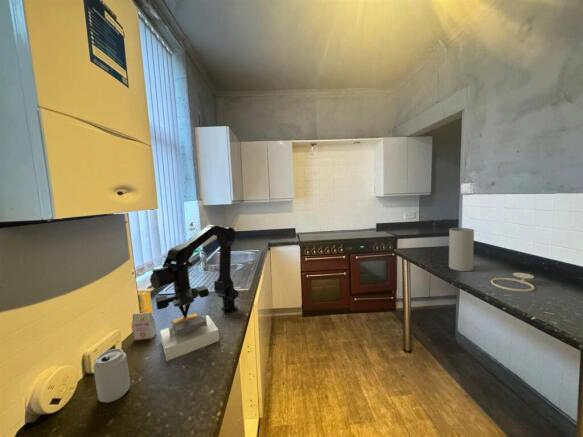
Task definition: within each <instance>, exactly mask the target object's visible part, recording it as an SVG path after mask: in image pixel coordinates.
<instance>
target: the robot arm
mask: <svg viewBox="0 0 583 437" xmlns="http://www.w3.org/2000/svg"><path fill="white" fill-rule="evenodd" d="M213 236H216V241H217V243H218V245H219V274H218V275H219V277H218V279H217V280H215V281H214V287H213V290H214V292H215V294H217V297H218V298H221V299H222V307H220V309H221V311H222V312H223V313H224V314H228V313H230V312H235V311H237V310H239V308H238V306H237V305H236V299H237V298H238V297H239V294H240V293H239V291H238V290H236V289H235V288H234V287H235V286H234V281H233V279H232V278H231V261H232V260H231V258H232V257H231V256H232V245H233V243H234V242H235V238H236V231H235V229H234V228H233V227H231V226H230V227H227V226H225V227H224V226H219V225H216V224H207V225H206V226H205V227H204V228H203V229H202V230H201V231H199V232H197V233H196V234H195V235H194V236H192V237H191V238H190V239H188V240H187V241H185V242H183V243H180V244H178V245H175V246H173V247H171V248H169V250H168V251H167V256H166V257H165V259H164V262H163V263H162V267H160V268H155V269H152V273H151V274H150V278H149V281H150V284H151V285H150V286H152V287H153V289H155V290H158V289H161V288H163V287H166V286H169V285H172V284H173V290H174V295H172V296H168V295H167V294H166V295H165V294H164V295H162V296H157V297H156V298H155V307H156V309H157V310H162V309H165V308H168V307H169V306H170V303H172V305H173V306H174V307H176V308H178V309H179V310H180V312H181V314H182V317H184V318H185V317H187V316H188V314H189V309H190V306H191V304H192V303H194V302H195V299H197V298H198V297H199V298H206V297H209V296H210V292H209V289H208V288H207V287H206V286H205V285H200V286H197V287H191V285H190V284H191V283H190V274H189V267H192V266H193V265H194V263H192V262H190V261H189V260H190V259H191V258H192V257H193V255H194V252H195V251H196V250H197V249H198V248H199V247H200V246H202V245H203V244H204V243H206V242H207V241H208V240H209V239H211V238H212V237H213Z"/></svg>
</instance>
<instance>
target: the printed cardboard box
mask: <svg viewBox="0 0 583 437" xmlns="http://www.w3.org/2000/svg"><path fill="white" fill-rule="evenodd" d="M131 329H132V330H131V331H132V336H133V338H132V339H133V341H141V340H142V341H143V340H151V339H153V338H154V337H155V336H156V334H157V331H156V323H155V319H154V317H153V315H152V312H141V313H140V312H139V313H133V314H132V323H131Z"/></svg>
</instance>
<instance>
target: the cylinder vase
mask: <svg viewBox="0 0 583 437" xmlns="http://www.w3.org/2000/svg"><path fill="white" fill-rule="evenodd" d="M448 237H449V238H448V268H449V269H451V270H453V271H456V272H457V271H459V272H470V271H473V269H474V242H475V241H474V239H475V230H474V229H473V228H467V227H451V228H449V234H448Z"/></svg>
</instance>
